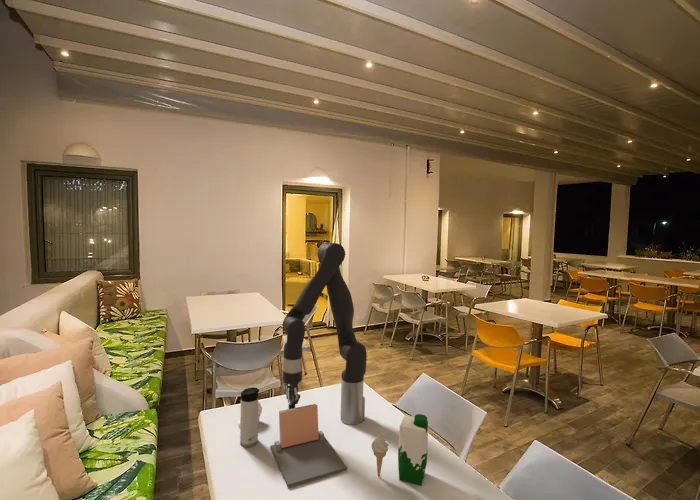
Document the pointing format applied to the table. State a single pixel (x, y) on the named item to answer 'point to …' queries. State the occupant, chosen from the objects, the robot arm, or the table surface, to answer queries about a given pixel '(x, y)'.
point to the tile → (298, 425)
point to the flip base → (307, 461)
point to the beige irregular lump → (258, 413)
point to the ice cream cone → (379, 450)
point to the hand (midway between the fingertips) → (291, 412)
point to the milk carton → (413, 448)
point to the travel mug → (249, 417)
